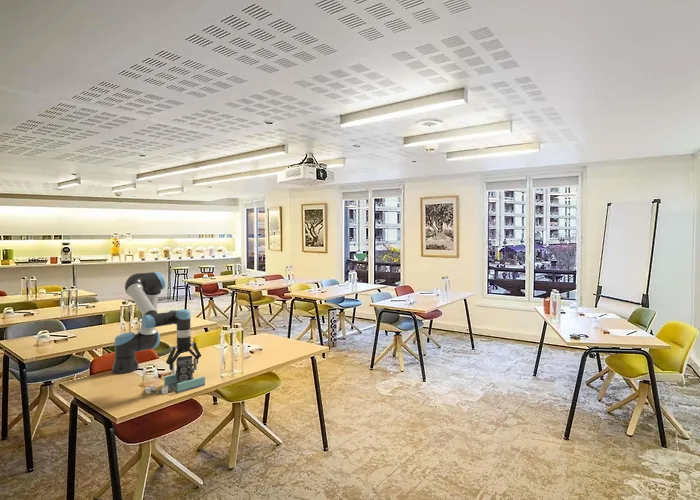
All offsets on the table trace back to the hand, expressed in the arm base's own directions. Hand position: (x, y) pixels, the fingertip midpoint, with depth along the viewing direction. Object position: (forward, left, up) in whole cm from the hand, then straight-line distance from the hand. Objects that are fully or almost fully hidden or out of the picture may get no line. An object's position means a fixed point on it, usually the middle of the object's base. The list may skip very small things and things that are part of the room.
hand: (184, 372), depth 247 cm
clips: (0, -15, -8) cm, 17 cm away
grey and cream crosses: (-1, -15, -8) cm, 16 cm away
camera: (0, 0, -7) cm, 7 cm away
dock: (0, 0, -8) cm, 8 cm away
